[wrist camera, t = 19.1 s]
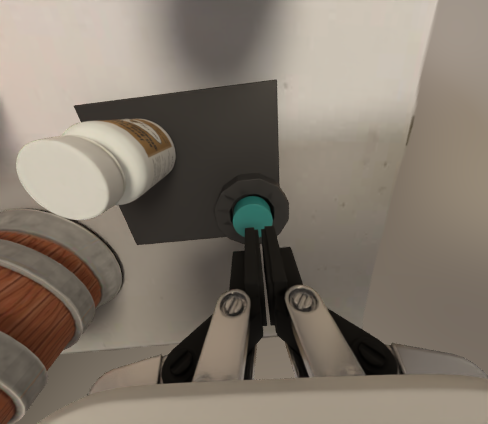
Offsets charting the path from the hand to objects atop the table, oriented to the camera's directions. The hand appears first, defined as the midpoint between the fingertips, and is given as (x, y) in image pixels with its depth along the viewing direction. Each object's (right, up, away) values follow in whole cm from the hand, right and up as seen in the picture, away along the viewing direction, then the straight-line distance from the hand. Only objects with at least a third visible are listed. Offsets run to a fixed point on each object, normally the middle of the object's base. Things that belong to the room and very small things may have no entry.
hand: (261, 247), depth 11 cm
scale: (-5, +5, +6) cm, 9 cm away
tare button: (0, +2, +4) cm, 5 cm away
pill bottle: (-8, +7, +4) cm, 11 cm away
